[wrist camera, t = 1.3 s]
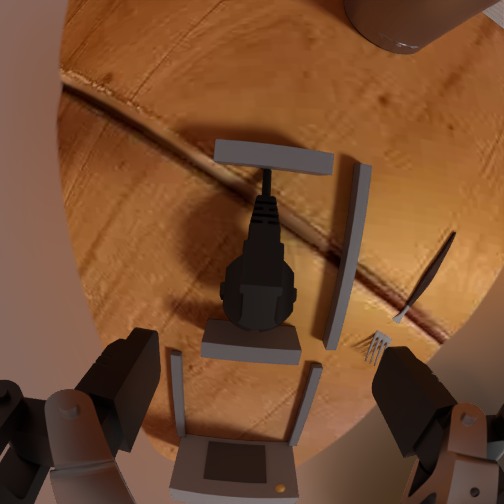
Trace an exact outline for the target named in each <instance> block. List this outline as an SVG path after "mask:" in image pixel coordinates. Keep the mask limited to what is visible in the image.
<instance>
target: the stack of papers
mask: <svg viewBox="0 0 504 504" xmlns="http://www.w3.org/2000/svg"><path fill="white" fill-rule="evenodd" d="M482 12H483V13H484V14H486V15H487V16H488V17H490V18H491V19H492V20H493V21H495V22H496V23H497V24H498V25H500V26H501V27H502V28H503V29H504V0H502V1H500V2H498V3H496V4H494V5H493V6H491V7H489V8H487V9H485V10H484V11H482Z"/></svg>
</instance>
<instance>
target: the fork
mask: <svg viewBox="0 0 504 504" xmlns="http://www.w3.org/2000/svg"><path fill="white" fill-rule="evenodd" d="M455 235H456V232H454V233H453V234H452V236H451V237H450V239H449V240H448V242H447V243H446V245H445V246H444V248H443V249H442V251H441V252H440V254H439V255H438V256H437V258H436V259H435V260H434V262H433V263H432V264H431V266H430V267H429V268H428V270H427V271H426V273H425V274H424V276H423V277H422V279H421V281H420V282H419V284H418V286H417V288H416V289H415V291H414V293H413V294H412V296H411V298H410V300H409V301H408V303H407V305H406V306H405V308H404V309H403V311H402V312H401V313H400V314H398V315H397V316H395V317H394V318H393V321H395V322H396V323H400V321H401V319H402V317H403V315H404V314H405V313H406V311H407V310H408V309H409V308H410V307H411V306H412V304H413V303H414V302H415V301H416V300H417V299H418V298H419V296H420V295H421V294H422V293H423V292H424V290H425V289H426V288H427V287H428V285H429V284H430V283H431V281H432V280H433V278H434V276H435V275H436V273H437V271H438V269H439V267H440V265H441V263H442V261H443V259H444V257H445V256H446V254H447V252H448V250H449V248H450V246H451V244H452V242H453V240H454V237H455ZM377 337H378V340H377V343H376V346H375V348H374V351H373V354H372V357H371V360H370V363H369V364H371V361H372V359H373V356H374V354H375V352H376V350H377V347H378V345H379V343H380V341H381V340H382V343H381V346H380V349H379V352H378V354H377V357H376V360H375V363H374V366H375V364H376V362H377V360H378V357H379V355H380V353H381V350H382V348H383V346H384V344H385V342H386V346H385V349H386V348H387V347H388V346H389V344H390V342H391V340H392V339H391V338H390V337H388V336H386V335H385V334H383V333H382V332H380V331H376V332H375V334H374V337H373V339H372V342H371V345H370V347H369V350H368V353H367V356H366V359H365V361H366V360H367V358H368V355H369V353H370V351H371V348H372V346H373V344H374V342H375V340H376V338H377ZM385 349H384V351H385ZM383 353H384V352H383ZM381 358H382V357H381ZM380 361H381V360H380Z"/></svg>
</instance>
